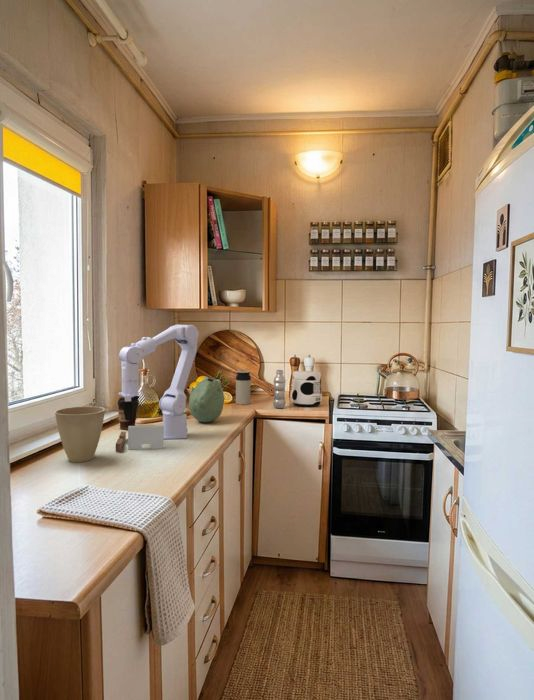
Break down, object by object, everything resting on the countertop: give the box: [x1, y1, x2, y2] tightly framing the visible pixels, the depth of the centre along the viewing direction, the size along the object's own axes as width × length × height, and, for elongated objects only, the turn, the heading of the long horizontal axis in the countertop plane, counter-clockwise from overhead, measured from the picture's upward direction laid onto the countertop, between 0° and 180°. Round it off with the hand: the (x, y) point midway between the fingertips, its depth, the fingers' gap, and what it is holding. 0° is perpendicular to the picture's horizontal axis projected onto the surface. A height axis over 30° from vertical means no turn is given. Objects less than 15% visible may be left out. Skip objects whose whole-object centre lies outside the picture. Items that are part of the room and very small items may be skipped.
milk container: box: [290, 370, 323, 407], centre depth 259 cm, size 17×17×18 cm
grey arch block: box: [127, 424, 165, 451], centre depth 167 cm, size 12×2×8 cm, turn 101°
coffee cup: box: [117, 396, 140, 430], centre depth 196 cm, size 9×8×13 cm
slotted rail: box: [115, 430, 127, 453], centre depth 170 cm, size 2×18×3 cm, turn 11°
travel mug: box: [235, 369, 252, 406], centre depth 260 cm, size 8×8×18 cm
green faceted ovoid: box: [187, 376, 225, 424], centre depth 211 cm, size 16×19×20 cm
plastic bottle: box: [272, 369, 287, 409], centre depth 248 cm, size 6×7×20 cm
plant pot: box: [54, 405, 106, 463], centre depth 153 cm, size 15×15×16 cm
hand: (130, 418), depth 170 cm, fingers open, 7 cm apart
